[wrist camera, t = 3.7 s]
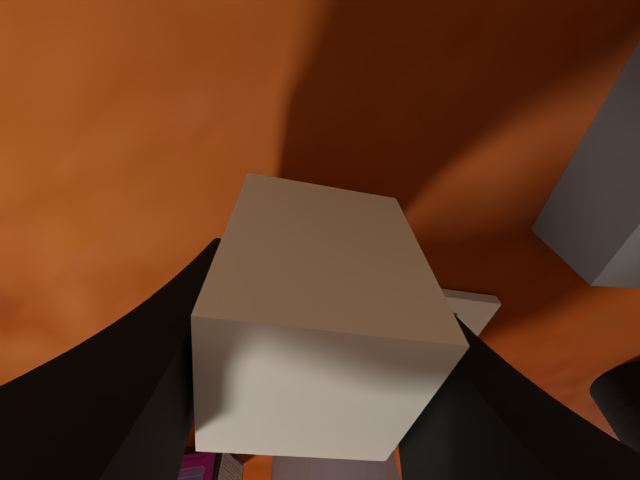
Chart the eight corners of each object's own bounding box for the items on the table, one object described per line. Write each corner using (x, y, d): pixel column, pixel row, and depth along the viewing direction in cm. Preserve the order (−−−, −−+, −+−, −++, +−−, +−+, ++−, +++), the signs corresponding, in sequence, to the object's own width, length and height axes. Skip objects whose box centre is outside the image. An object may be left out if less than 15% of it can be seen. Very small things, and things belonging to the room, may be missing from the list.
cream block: (357, 301, 14) (385, 461, 9) (238, 286, 13) (195, 451, 8) (395, 198, 11) (469, 346, 6) (248, 172, 10) (190, 315, 5)
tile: (447, 363, 20) (452, 375, 19) (307, 349, 19) (307, 361, 18) (495, 295, 17) (503, 307, 16) (329, 273, 15) (330, 284, 15)
